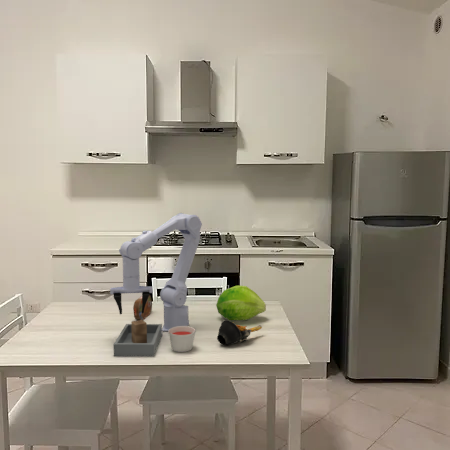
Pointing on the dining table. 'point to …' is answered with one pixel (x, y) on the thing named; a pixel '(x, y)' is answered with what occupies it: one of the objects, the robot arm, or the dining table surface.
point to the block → (139, 331)
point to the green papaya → (240, 303)
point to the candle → (181, 338)
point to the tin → (138, 308)
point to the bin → (128, 348)
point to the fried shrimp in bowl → (234, 333)
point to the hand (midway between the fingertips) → (131, 313)
